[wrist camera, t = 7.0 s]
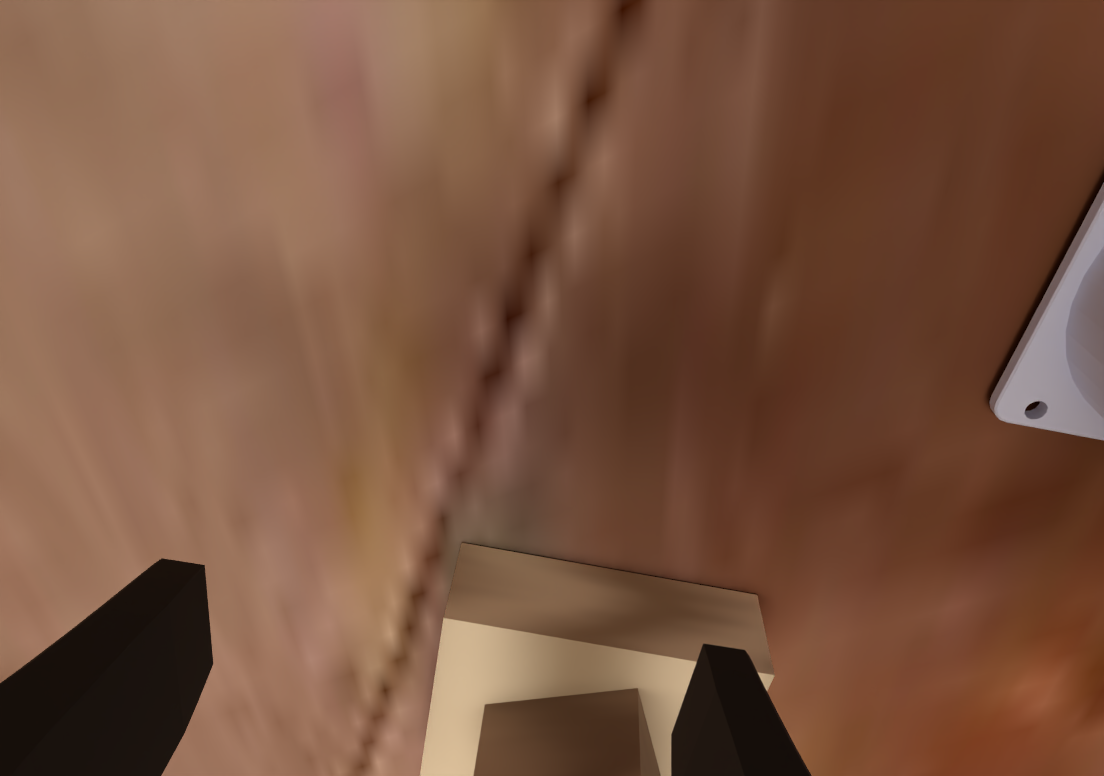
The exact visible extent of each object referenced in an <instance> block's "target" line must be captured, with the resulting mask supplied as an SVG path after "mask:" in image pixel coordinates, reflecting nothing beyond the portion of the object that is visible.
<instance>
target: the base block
mask: <svg viewBox="0 0 1104 776" xmlns="http://www.w3.org/2000/svg"><path fill="white" fill-rule="evenodd" d="M703 643H704V644H711V645H717V646H723V647H730V648H736V649H743V650H745V651H746V652H747V653H748V655H749V656H750V658H751V660H752V662H753V664H754V666H755V668H756V670H757V672H758V674H759V676H760V678H761V681H762V683H763V685H764V687H765V689H766V691H767V690H768V688H769V686H770V684H771V682H772V680H773V678H774V670H773V666H772V661H771V657H770V652H769V647H768V643H767V638H766V633H765V629H764V624H763V619H762V615H761V610H760V606H759V601H758V596H757V595H755V594H749V593H744V592H738V591H732V590H727V589H721V588H715V587H710V586H704V585H698V584H693V583H687V582H681V581H676V580H670V579H664V578H659V577H653V576H647V575H642V574H636V573H630V572H625V571H619V570H613V569H608V568H602V567H596V566H591V565H585V564H579V563H574V562H568V561H562V560H557V559H551V558H545V557H540V556H534V555H529V554H523V553H517V552H512V551H506V550H500V549H495V548H489V547H483V546H478V545H472V544H466V543H461V547H460V551H459V555H458V560H457V564H456V568H455V572H454V576H453V581H452V585H451V589H450V593H449V597H448V602H447V606H446V610H445V614H444V619H443V625H442V632H441V638H440V645H439V652H438V658H437V665H436V672H435V678H434V685H433V692H432V698H431V705H430V712H429V718H428V725H427V732H426V738H425V745H424V752H423V758H422V765H421V772H420V776H473V775H474V769H475V763H476V756H477V750H478V744H479V738H480V732H481V725H482V719H483V713H484V707H485V704H493V703H502V702H511V701H521V700H530V699H540V698H549V697H558V696H568V695H577V694H587V693H596V692H605V691H615V690H624V689H634V688H638V691H639V695H640V699H641V702H642V706H643V710H644V714H645V718H646V721H647V725H648V729H649V733H650V737H651V740H652V744H653V748H654V752H655V756H656V759H657V763H658V767H659V771H660V775H661V776H671V734H672V731H673V728H674V725H675V722H676V720H677V717H678V714H679V711H680V708H681V705H682V702H683V700H684V697H685V694H686V691H687V688H688V685H689V683H690V680H691V677H692V674H693V671H694V668H695V665H696V663H697V660H698V657H699V654H700V651H701V648H702V646H703Z"/></svg>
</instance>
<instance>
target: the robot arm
mask: <svg viewBox="0 0 1104 776" xmlns="http://www.w3.org/2000/svg"><path fill="white" fill-rule="evenodd" d="M1035 401H1040V403H1039V405H1038V406H1037V407H1036V408H1035V409H1032V410H1030V411H1025V409H1026V407H1027V406H1028V405H1029V404H1031V403H1033V402H1035ZM989 403H990V408H991V410H992V411H993V412H994V414H995V415H996V416H997V417H998V418H999V419H1000V420H1002V421H1004V422H1007V423H1013V424H1018V425H1023V426H1029V427H1034V428H1039V429H1045V430H1050V431H1056V432H1061V433H1066V434H1072V435H1077V436H1082V437H1088V438H1093V439H1099V440H1104V183H1103V185H1102V187H1101V189H1100V190H1099V192H1098V194H1097V196H1096V198H1095V200H1094V202H1093V204H1092V206H1091V208H1090V209H1089V211H1088V213H1087V215H1086V217H1085V219H1084V221H1083V223H1082V225H1081V227H1080V228H1079V230H1078V232H1077V234H1076V236H1075V238H1074V240H1073V242H1072V244H1071V245H1070V247H1069V249H1068V251H1067V253H1066V255H1065V257H1064V259H1063V261H1062V263H1061V264H1060V266H1059V268H1058V270H1057V272H1056V274H1055V276H1054V278H1053V280H1052V282H1051V283H1050V285H1049V287H1048V289H1047V291H1046V293H1045V295H1044V297H1043V299H1042V301H1041V302H1040V304H1039V306H1038V308H1037V310H1036V312H1035V314H1034V316H1033V318H1032V319H1031V321H1030V323H1029V325H1028V327H1027V329H1026V331H1025V333H1024V335H1023V337H1022V338H1021V340H1020V342H1019V344H1018V346H1017V348H1016V350H1015V352H1014V354H1013V356H1012V357H1011V359H1010V361H1009V363H1008V365H1007V367H1006V369H1005V371H1004V373H1003V374H1002V376H1001V378H1000V380H999V382H998V384H997V386H996V388H995V390H994V392H993V393H992V395H991V398H990V402H989ZM212 666H213V656H212V644H211V633H210V622H209V610H208V599H207V587H206V576H205V565H200V564H194V563H188V562H181V561H175V560H168V559H161V560H159V561H157V562H156V563H154V564H153V565H152V566H151V567H149V568H148V569H147V570H146V571H144V572H143V573H142V574H141V575H139V576H138V577H137V578H136V579H134V580H133V581H132V582H131V583H129V584H128V585H127V586H126V587H124V588H123V589H122V590H121V591H119V592H118V593H117V594H116V595H114V596H113V597H112V598H111V599H110V600H108V601H107V602H106V603H105V604H103V605H102V606H101V607H100V608H98V609H97V610H96V611H94V612H93V613H92V614H91V615H89V616H88V617H87V618H86V619H84V620H83V621H82V622H81V623H79V624H78V625H77V626H76V627H74V628H73V629H72V630H70V631H69V632H68V633H67V634H65V635H64V636H63V637H61V638H60V639H59V640H57V641H56V642H55V643H53V644H52V645H51V646H49V647H48V648H47V649H45V650H44V651H43V652H42V653H40V654H39V655H38V656H36V657H35V658H34V659H32V660H31V661H30V662H28V663H27V664H26V665H24V666H23V667H22V668H21V669H19V670H18V671H16V672H15V673H14V674H12V675H11V676H10V677H8V678H7V679H6V680H4V681H3V682H1V683H0V776H161V775H162V773H163V771H164V770H165V768H166V766H167V764H168V762H169V760H170V759H171V757H172V755H173V753H174V751H175V750H176V748H177V746H178V744H179V742H180V740H181V739H182V737H183V735H184V733H185V731H186V728H187V726H188V724H189V721H190V719H191V717H192V714H193V712H194V710H195V707H196V705H197V703H198V700H199V698H200V695H201V693H202V690H203V688H204V685H205V683H206V680H207V678H208V675H209V673H210V671H211V668H212ZM671 776H811V774H810V772H809V770H808V769H807V767H806V765H805V763H804V762H803V760H802V758H801V756H800V754H799V752H798V751H797V749H796V747H795V745H794V743H793V741H792V740H791V738H790V736H789V734H788V732H787V730H786V728H785V726H784V724H783V722H782V720H781V718H780V717H779V715H778V713H777V711H776V709H775V707H774V705H773V703H772V701H771V699H770V697H769V695H768V693H767V691H766V689H765V687H764V685H763V683H762V681H761V678H760V676H759V674H758V672H757V670H756V668H755V666H754V664H753V662H752V660H751V658H750V656H749V655H748V653H747V652H746V651H745V650H743V649H736V648H730V647H723V646H717V645H711V644H704V643H703V646H702V648H701V651H700V654H699V657H698V660H697V663H696V665H695V668H694V671H693V674H692V677H691V680H690V683H689V685H688V688H687V691H686V694H685V697H684V700H683V702H682V705H681V708H680V711H679V714H678V717H677V720H676V722H675V725H674V728H673V731H672V734H671Z"/></svg>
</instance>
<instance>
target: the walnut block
mask: <svg viewBox="0 0 1104 776" xmlns="http://www.w3.org/2000/svg"><path fill="white" fill-rule="evenodd" d="M473 776H661V775H660V771H659V767H658V763H657V759H656V756H655V752H654V748H653V744H652V740H651V737H650V733H649V729H648V725H647V721H646V718H645V714H644V710H643V706H642V702H641V699H640V695H639V691H638V688H634V689H624V690H615V691H605V692H596V693H587V694H577V695H568V696H558V697H549V698H540V699H530V700H521V701H511V702H502V703H493V704H485V707H484V713H483V719H482V725H481V732H480V738H479V744H478V750H477V756H476V763H475V769H474V775H473Z"/></svg>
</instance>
